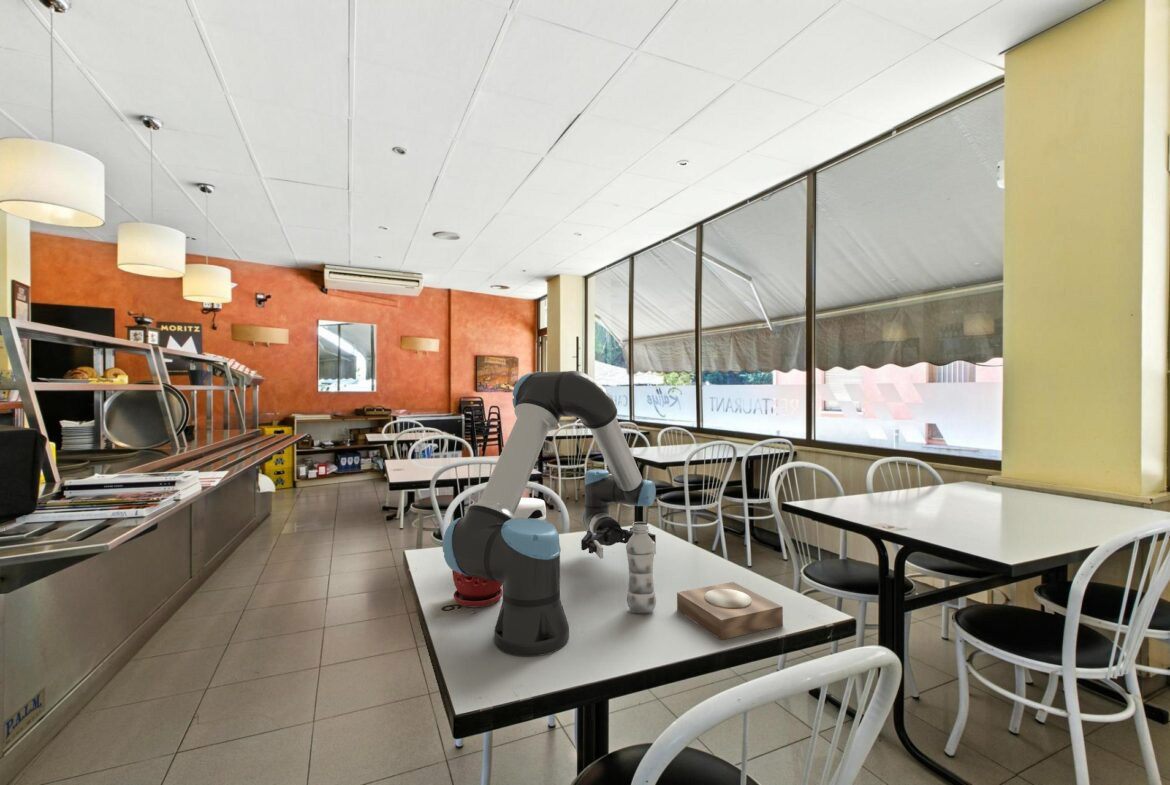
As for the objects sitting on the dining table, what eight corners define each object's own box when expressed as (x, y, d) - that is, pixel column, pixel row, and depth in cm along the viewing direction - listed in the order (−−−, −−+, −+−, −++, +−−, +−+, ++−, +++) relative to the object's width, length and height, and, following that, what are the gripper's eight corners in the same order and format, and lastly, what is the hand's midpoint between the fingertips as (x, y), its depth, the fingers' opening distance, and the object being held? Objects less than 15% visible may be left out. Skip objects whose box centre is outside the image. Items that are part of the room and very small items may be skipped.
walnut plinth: (721, 640, 102) (721, 618, 102) (677, 609, 117) (676, 590, 117) (782, 625, 109) (782, 604, 109) (733, 598, 123) (733, 580, 123)
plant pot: (480, 616, 115) (480, 562, 115) (440, 603, 122) (440, 553, 122) (518, 596, 126) (517, 547, 126) (479, 586, 133) (479, 540, 133)
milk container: (484, 559, 156) (483, 500, 156) (537, 551, 163) (537, 495, 163) (499, 577, 140) (498, 511, 140) (558, 567, 147) (557, 505, 148)
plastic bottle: (661, 614, 115) (660, 525, 115) (634, 619, 112) (633, 528, 113) (647, 603, 121) (646, 519, 121) (622, 608, 118) (621, 522, 119)
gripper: (646, 539, 150) (675, 561, 129) (563, 545, 144) (579, 570, 123) (646, 513, 150) (675, 532, 129) (562, 519, 144) (578, 539, 123)
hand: (628, 550), depth 126 cm, fingers open, 13 cm apart
